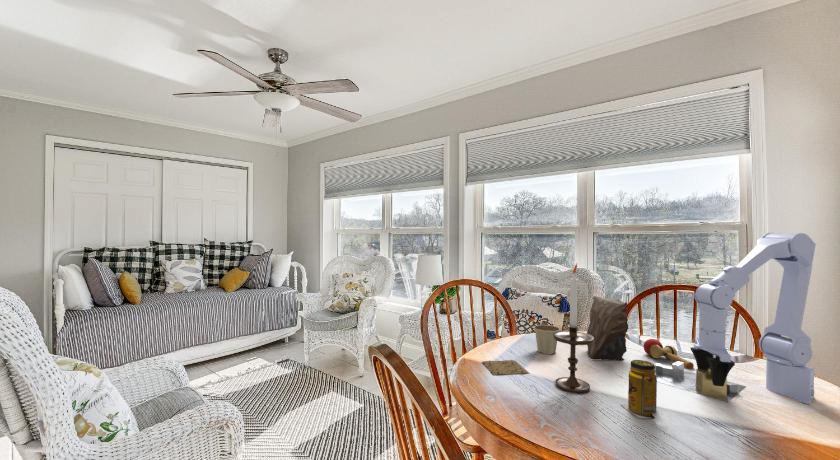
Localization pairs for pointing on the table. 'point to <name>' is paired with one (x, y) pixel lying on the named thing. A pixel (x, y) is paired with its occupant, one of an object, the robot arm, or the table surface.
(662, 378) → the shaft base
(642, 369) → the condiment
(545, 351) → the flower pot
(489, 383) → the table surface
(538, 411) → the table surface
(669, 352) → the kendama
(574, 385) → the candlestick
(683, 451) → the table surface
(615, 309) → the brown rock block
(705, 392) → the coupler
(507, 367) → the brown stone coaster
